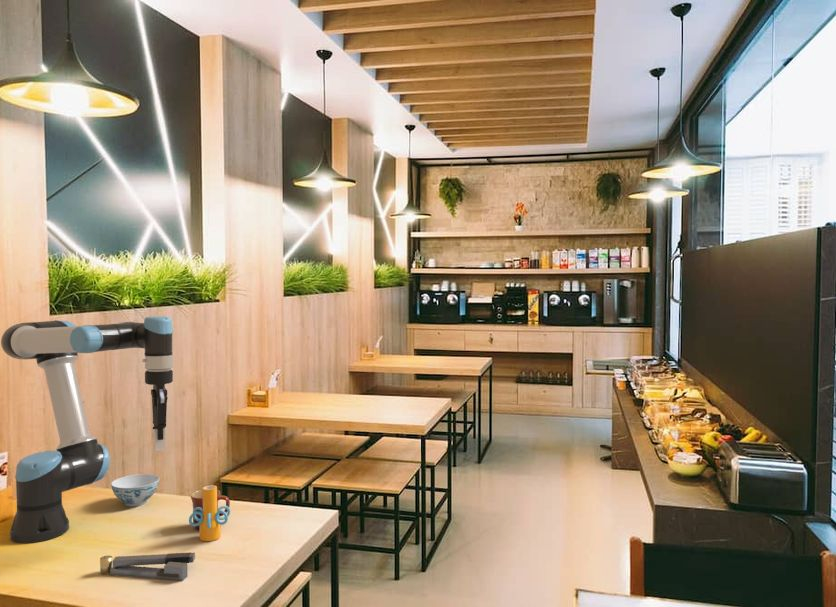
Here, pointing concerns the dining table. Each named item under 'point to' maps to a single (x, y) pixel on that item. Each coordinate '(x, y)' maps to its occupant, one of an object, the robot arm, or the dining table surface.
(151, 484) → the chinaware
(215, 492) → the cylinder
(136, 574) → the tongs fixed
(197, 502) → the mug
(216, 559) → the dining table surface
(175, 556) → the tongs arm
